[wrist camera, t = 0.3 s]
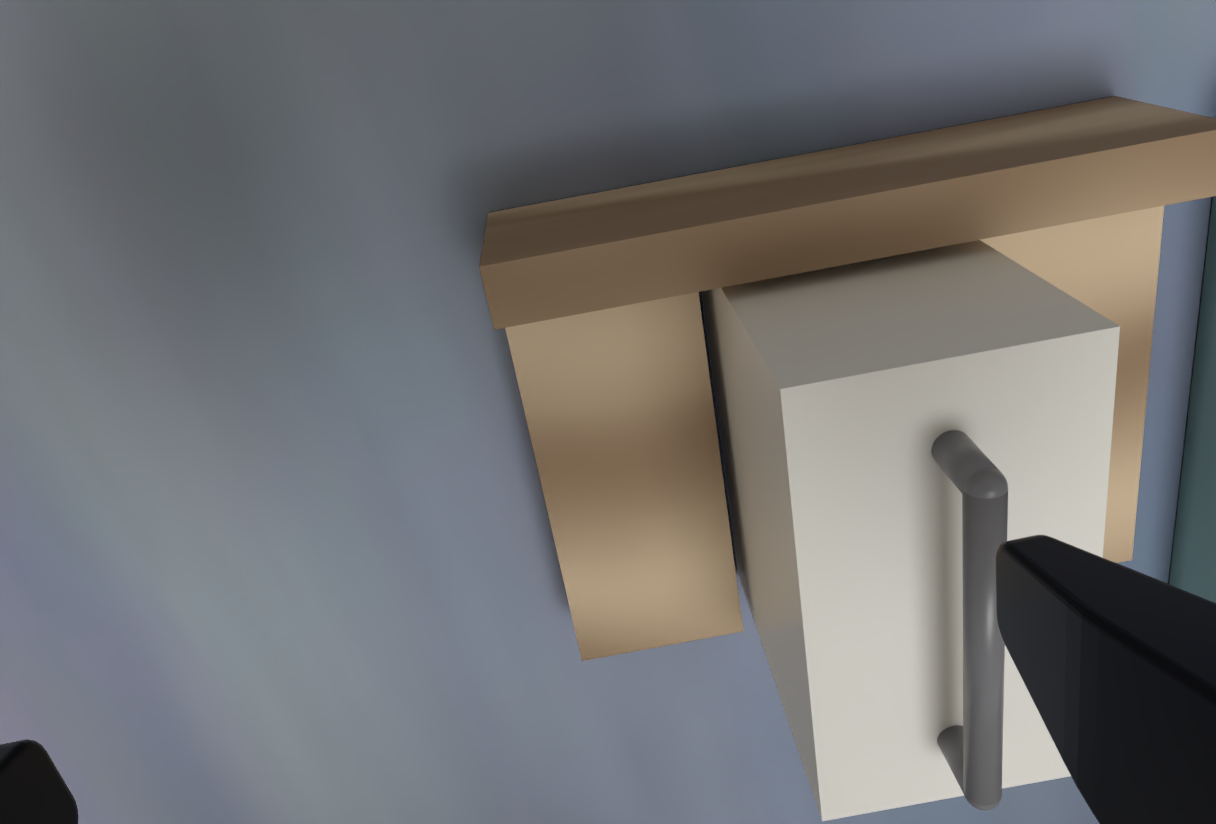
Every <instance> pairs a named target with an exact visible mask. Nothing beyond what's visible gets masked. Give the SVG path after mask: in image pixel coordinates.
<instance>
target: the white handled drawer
mask: <svg viewBox="0 0 1216 824" xmlns="http://www.w3.org/2000/svg"><path fill="white" fill-rule="evenodd" d="M701 296H702V303H703V311H704V318H705V326H706V334H707V341H708V349H709V356H710V364H711V372H712V379H713V387H714V395H715V402H716V410H717V417H718V425H719V433H720V440H721V448H722V456H723V463H724V471H725V478H726V486H727V494H728V501H729V509H730V516H731V524H732V532H733V539H734V547H735V555H736V562H737V570H738V575H739V578H740V581H741V584H742V587H743V590H744V593H745V596H746V599H747V602H748V604H749V607H750V610H751V613H752V616H753V619H754V622H755V625H756V628H757V631H758V634H759V637H760V640H761V643H762V646H763V649H764V652H765V655H766V657H767V660H768V663H769V666H770V669H771V672H772V675H773V678H774V681H775V684H776V687H777V690H778V693H779V696H780V699H781V702H782V705H783V708H784V710H785V713H786V716H787V719H788V722H789V725H790V728H791V731H792V734H793V737H794V740H795V743H796V746H797V749H798V752H799V755H800V758H801V761H802V764H803V766H804V769H805V772H806V775H807V778H808V781H809V784H810V787H811V790H812V793H813V796H814V799H815V802H816V805H817V808H818V811H819V814H820V817H821V819H822V821H827V820H832V819H838V818H843V817H849V816H854V815H860V814H865V813H871V812H876V811H882V810H887V809H893V808H898V807H904V806H909V805H915V804H920V803H926V802H931V801H937V800H942V799H948V798H953V797H959V796H965V797H966V799H967V801H968V802H969V803H970V804H971V805H972V806H973V807H975V808H977V809H980V810H990V809H993V808H995V807H996V806H997V805H998V804H999V802H1000V800H1001V796H1002V789H1003V788H1008V787H1014V786H1019V785H1025V784H1030V783H1036V782H1041V781H1047V780H1052V779H1058V778H1063V777H1069V776H1071V775H1070V773H1069V771H1068V769H1067V767H1066V765H1065V764H1064V762H1063V760H1062V758H1061V756H1060V754H1059V752H1058V750H1057V748H1056V746H1055V744H1054V742H1053V740H1052V738H1051V736H1050V734H1049V732H1048V730H1047V728H1046V726H1045V724H1044V722H1043V720H1042V718H1041V716H1040V714H1039V712H1038V710H1037V708H1036V706H1035V704H1034V702H1033V700H1032V698H1031V696H1030V694H1029V692H1028V690H1027V688H1026V686H1025V684H1024V682H1023V680H1022V678H1021V676H1020V674H1019V672H1018V670H1017V668H1016V666H1015V664H1014V662H1013V660H1012V658H1011V656H1010V654H1009V652H1008V650H1007V648H1006V646H1005V644H1004V642H1003V639H1002V637H1001V634H1000V631H999V627H998V623H997V617H996V576H995V555H996V551H997V548H998V547H999V546H1000V545H1001V543H1002V542H1005V541H1009V540H1014V539H1019V538H1024V537H1029V536H1034V535H1046V536H1050V537H1052V538H1055V539H1057V540H1060V541H1062V542H1065V543H1067V544H1070V545H1072V546H1075V547H1077V548H1080V549H1082V550H1085V551H1087V552H1090V553H1092V554H1095V555H1097V556H1100V557H1102V558H1103V547H1104V533H1105V520H1106V507H1107V493H1108V480H1109V467H1110V453H1111V440H1112V427H1113V414H1114V400H1115V387H1116V374H1117V360H1118V347H1119V334H1120V326H1118V325H1117V324H1115V323H1114V322H1112V321H1110V320H1109V319H1107V318H1106V317H1104V316H1102V315H1101V314H1099V313H1097V312H1096V311H1094V310H1093V309H1091V308H1089V307H1088V306H1086V305H1084V304H1083V303H1081V302H1080V301H1078V300H1076V299H1075V298H1073V297H1071V296H1070V295H1068V294H1067V293H1065V292H1063V291H1062V290H1060V289H1058V288H1057V287H1055V286H1054V285H1052V284H1050V283H1049V282H1047V281H1045V280H1044V279H1042V278H1041V277H1039V276H1037V275H1036V274H1034V273H1032V272H1031V271H1029V270H1028V269H1026V268H1024V267H1023V266H1021V265H1019V264H1018V263H1016V262H1015V261H1013V260H1011V259H1010V258H1008V257H1007V256H1005V255H1003V254H1002V253H1000V252H998V251H997V250H995V249H994V248H992V247H990V246H989V245H987V244H985V243H984V242H982V241H981V240H976V241H970V242H965V243H960V244H954V245H949V246H943V247H938V248H933V249H927V250H922V251H916V252H911V253H906V254H900V255H895V256H889V257H884V258H879V259H873V260H868V261H862V262H857V263H852V264H846V265H841V266H835V267H830V268H825V269H819V270H814V271H809V272H803V273H798V274H792V275H787V276H782V277H776V278H771V279H765V280H760V281H755V282H749V283H744V284H738V285H733V286H728V287H722V288H717V289H711V290H706V291H701Z"/></svg>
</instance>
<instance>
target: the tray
mask: <svg viewBox="0 0 1216 824" xmlns="http://www.w3.org/2000/svg"><path fill="white" fill-rule="evenodd" d="M1169 584H1170V585H1172V586H1175V587H1177V588H1180V589H1182V590H1185V591H1187V592H1190V593H1192V594H1195V595H1197V596H1200V597H1202V598H1205V599H1207V600H1210V601H1212V602H1215V603H1216V196H1213V200H1212V209H1211V217H1210V226H1209V235H1208V244H1207V253H1206V262H1205V270H1204V279H1203V288H1202V297H1201V306H1200V315H1199V323H1198V332H1197V341H1196V350H1195V359H1194V368H1193V376H1192V385H1191V394H1190V403H1189V412H1188V420H1187V429H1186V438H1185V447H1184V456H1183V465H1182V473H1181V482H1180V491H1179V500H1178V509H1177V518H1176V526H1175V535H1174V544H1173V553H1172V562H1171V571H1170V579H1169Z"/></svg>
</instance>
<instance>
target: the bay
mask: <svg viewBox="0 0 1216 824" xmlns="http://www.w3.org/2000/svg"><path fill="white" fill-rule="evenodd" d="M1213 196H1216V119H1215V118H1211V117H1206V116H1202V115H1197V114H1193V113H1188V112H1184V111H1180V110H1175V109H1171V108H1166V107H1162V106H1157V105H1153V104H1148V103H1144V102H1139V101H1135V100H1131V99H1126V98H1122V97H1117V96H1113V97H1108V98H1103V99H1097V100H1092V101H1086V102H1081V103H1076V104H1070V105H1065V106H1060V107H1054V108H1049V109H1043V110H1038V111H1033V112H1027V113H1022V114H1017V115H1011V116H1006V117H1001V118H995V119H990V120H984V121H979V122H974V123H968V124H963V125H958V126H952V127H947V128H941V129H936V130H931V131H925V132H920V133H915V134H909V135H904V136H898V137H893V138H888V139H882V140H877V141H872V142H866V143H861V144H855V145H850V146H845V147H839V148H834V149H829V150H823V151H818V152H812V153H807V154H802V155H796V156H791V157H786V158H780V159H775V160H769V161H764V162H759V163H753V164H748V165H743V166H737V167H732V168H726V169H721V170H716V171H710V172H705V173H700V174H694V175H689V176H684V177H678V178H673V179H667V180H662V181H657V182H651V183H646V184H641V185H635V186H630V187H624V188H619V189H614V190H608V191H603V192H598V193H592V194H587V195H581V196H576V197H571V198H565V199H560V200H555V201H549V202H544V203H538V204H533V205H528V206H522V207H517V208H512V209H506V210H501V211H495V212H490V213H488V218H487V224H486V230H485V235H484V241H483V247H482V253H481V259H480V265H479V268H480V272H481V277H482V281H483V285H484V289H485V294H486V298H487V302H488V306H489V310H490V315H491V319H492V323H493V327H494V330H496V329H501V328H505V329H506V334H507V338H508V342H509V347H510V351H511V355H512V360H513V364H514V368H515V373H516V377H517V381H518V386H519V390H520V394H521V399H522V403H523V407H524V412H525V416H526V420H527V425H528V429H529V433H530V438H531V442H532V446H533V451H534V455H535V459H536V464H537V468H538V472H539V477H540V481H541V485H542V490H543V494H544V498H545V503H546V507H547V511H548V516H549V520H550V524H551V529H552V533H553V537H554V542H555V546H556V550H557V555H558V559H559V563H560V568H561V572H562V576H563V581H564V585H565V589H566V594H567V598H568V602H569V607H570V611H571V615H572V620H573V624H574V628H575V633H576V637H577V641H578V646H579V650H580V654H581V659H582V661H584V660H590V659H595V658H601V657H606V656H611V655H617V654H622V653H628V652H633V651H639V650H644V649H650V648H655V647H661V646H666V645H671V644H677V643H682V642H688V641H693V640H699V639H704V638H710V637H715V636H721V635H726V634H731V633H737V632H742V631H743V625H742V617H741V610H740V602H739V594H738V587H737V579H736V572H735V564H734V557H733V549H732V542H731V534H730V526H729V519H728V511H727V504H726V496H725V489H724V481H723V474H722V466H721V458H720V451H719V443H718V436H717V428H716V421H715V413H714V406H713V398H712V391H711V383H710V375H709V368H708V360H707V353H706V345H705V338H704V330H703V323H702V315H701V307H700V300H699V292H701V291H706V290H711V289H717V288H722V287H728V286H733V285H738V284H744V283H749V282H755V281H760V280H765V279H771V278H776V277H782V276H787V275H792V274H798V273H803V272H809V271H814V270H819V269H825V268H830V267H835V266H841V265H846V264H852V263H857V262H862V261H868V260H873V259H879V258H884V257H889V256H895V255H900V254H906V253H911V252H916V251H922V250H927V249H933V248H938V247H943V246H949V245H954V244H960V243H965V242H970V241H976V240H981V241H982V242H984V243H985V244H987V245H989V246H990V247H992V248H994V249H995V250H997V251H998V252H1000V253H1002V254H1003V255H1005V256H1007V257H1008V258H1010V259H1011V260H1013V261H1015V262H1016V263H1018V264H1019V265H1021V266H1023V267H1024V268H1026V269H1028V270H1029V271H1031V272H1032V273H1034V274H1036V275H1037V276H1039V277H1041V278H1042V279H1044V280H1045V281H1047V282H1049V283H1050V284H1052V285H1054V286H1055V287H1057V288H1058V289H1060V290H1062V291H1063V292H1065V293H1067V294H1068V295H1070V296H1071V297H1073V298H1075V299H1076V300H1078V301H1080V302H1081V303H1083V304H1084V305H1086V306H1088V307H1089V308H1091V309H1093V310H1094V311H1096V312H1097V313H1099V314H1101V315H1102V316H1104V317H1106V318H1107V319H1109V320H1110V321H1112V322H1114V323H1115V324H1117V325H1118V326H1120V334H1119V347H1118V360H1117V374H1116V387H1115V400H1114V414H1113V427H1112V440H1111V453H1110V467H1109V480H1108V493H1107V507H1106V520H1105V533H1104V547H1103V558H1105V559H1107V560H1110V561H1112V562H1115V563H1119V562H1124V561H1130V560H1132V554H1133V543H1134V532H1135V521H1136V510H1137V499H1138V488H1139V477H1140V466H1141V455H1142V444H1143V433H1144V422H1145V411H1146V400H1147V389H1148V378H1149V367H1150V356H1151V345H1152V334H1153V323H1154V312H1155V301H1156V290H1157V279H1158V268H1159V257H1160V246H1161V235H1162V224H1163V213H1164V205H1170V204H1175V203H1181V202H1186V201H1191V200H1197V199H1202V198H1208V197H1213Z"/></svg>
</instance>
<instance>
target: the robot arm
mask: <svg viewBox="0 0 1216 824" xmlns="http://www.w3.org/2000/svg"><path fill="white" fill-rule="evenodd" d="M995 576H996V617H997V623H998V627H999V631H1000V634H1001V637H1002V639H1003V642H1004V644H1005V646H1006V648H1007V650H1008V652H1009V654H1010V656H1011V658H1012V660H1013V662H1014V664H1015V666H1016V668H1017V670H1018V672H1019V674H1020V676H1021V678H1022V680H1023V682H1024V684H1025V686H1026V688H1027V690H1028V692H1029V694H1030V696H1031V698H1032V700H1033V702H1034V704H1035V706H1036V708H1037V710H1038V712H1039V714H1040V716H1041V718H1042V720H1043V722H1044V724H1045V726H1046V728H1047V730H1048V732H1049V734H1050V736H1051V738H1052V740H1053V742H1054V744H1055V746H1056V748H1057V750H1058V752H1059V754H1060V756H1061V758H1062V760H1063V762H1064V764H1065V765H1066V767H1067V769H1068V771H1069V773H1070V775H1071V777H1072V779H1073V780H1074V782H1075V784H1076V786H1077V788H1078V789H1079V791H1080V793H1081V794H1082V796H1083V798H1084V799H1085V801H1086V803H1087V804H1088V806H1089V807H1090V809H1091V811H1092V812H1093V814H1094V815H1095V817H1096V819H1097V820H1098V822H1099V823H1100V824H1216V603H1215V602H1212V601H1210V600H1207V599H1205V598H1202V597H1200V596H1197V595H1195V594H1192V593H1190V592H1187V591H1185V590H1182V589H1180V588H1177V587H1175V586H1172V585H1170V584H1167V583H1165V582H1162V581H1160V580H1157V579H1155V578H1152V577H1150V576H1147V575H1145V574H1142V573H1140V572H1137V571H1135V570H1132V569H1130V568H1127V567H1125V566H1122V565H1120V564H1117V563H1115V562H1112V561H1110V560H1107V559H1105V558H1102V557H1100V556H1097V555H1095V554H1092V553H1090V552H1087V551H1085V550H1082V549H1080V548H1077V547H1075V546H1072V545H1070V544H1067V543H1065V542H1062V541H1060V540H1057V539H1055V538H1052V537H1050V536H1046V535H1034V536H1029V537H1024V538H1019V539H1014V540H1009V541H1005V542H1002V543H1001V545H1000V546H999V547H998V548H997V551H996V555H995ZM0 824H78V809H77V805H76V801H75V799H74V797H73V795H72V794H71V792H70V790H69V789H68V787H67V785H66V784H65V782H64V780H63V779H62V777H61V775H60V773H59V772H58V770H57V768H56V767H55V765H54V763H53V762H52V760H51V758H50V756H49V755H48V753H47V751H46V750H45V749H44V747H43V746H42V745H41V744H39V743H38V742H36V741H33V740H21V741H16V742H11V743H6V744H1V745H0Z"/></svg>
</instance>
